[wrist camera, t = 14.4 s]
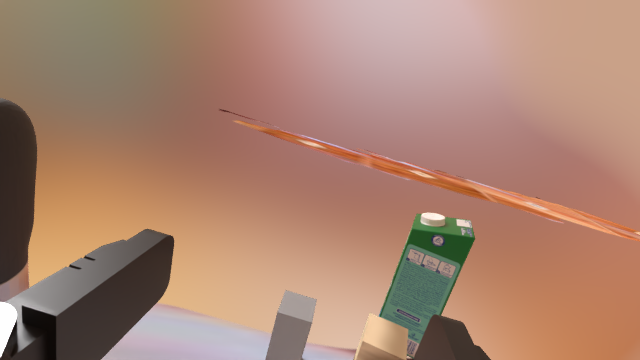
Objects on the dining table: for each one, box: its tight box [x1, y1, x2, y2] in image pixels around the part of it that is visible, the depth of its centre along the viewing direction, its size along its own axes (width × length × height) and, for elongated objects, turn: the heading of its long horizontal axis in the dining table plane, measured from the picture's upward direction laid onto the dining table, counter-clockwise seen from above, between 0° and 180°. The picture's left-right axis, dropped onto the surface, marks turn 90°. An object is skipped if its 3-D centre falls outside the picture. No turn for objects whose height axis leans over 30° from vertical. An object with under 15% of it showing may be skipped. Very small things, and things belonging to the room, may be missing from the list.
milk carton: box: [379, 213, 475, 359], centre depth 54 cm, size 9×9×25 cm
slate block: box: [266, 290, 316, 360], centre depth 44 cm, size 5×5×11 cm
